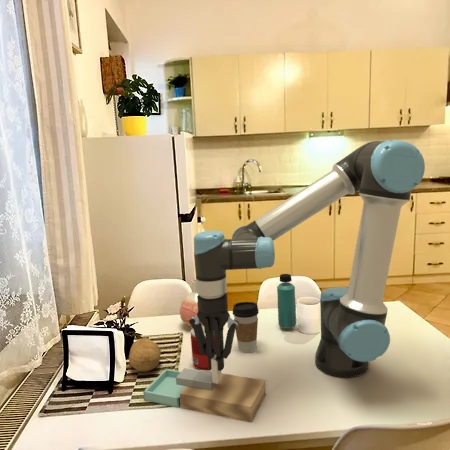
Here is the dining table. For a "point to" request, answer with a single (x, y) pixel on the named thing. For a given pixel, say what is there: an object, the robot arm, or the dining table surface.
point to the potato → (144, 355)
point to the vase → (189, 306)
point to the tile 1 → (187, 377)
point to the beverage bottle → (286, 302)
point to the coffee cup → (246, 325)
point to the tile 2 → (204, 381)
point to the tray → (164, 389)
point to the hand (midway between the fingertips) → (217, 380)
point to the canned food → (199, 359)
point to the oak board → (227, 397)
